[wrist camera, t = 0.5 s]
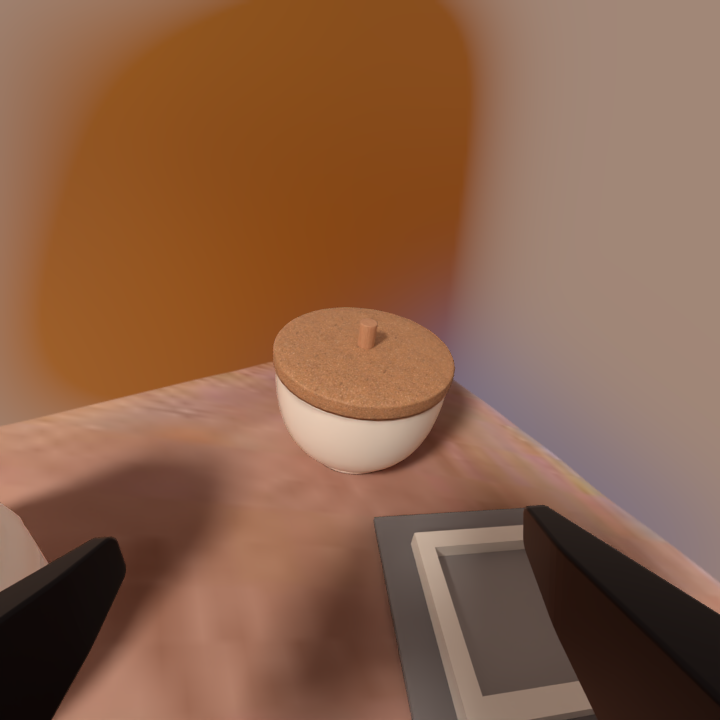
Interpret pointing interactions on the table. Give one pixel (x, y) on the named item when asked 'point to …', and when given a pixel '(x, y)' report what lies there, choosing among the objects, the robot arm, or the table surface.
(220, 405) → the table surface
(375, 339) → the lidded bowl
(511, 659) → the mat
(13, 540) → the honey pot
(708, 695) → the robot arm
